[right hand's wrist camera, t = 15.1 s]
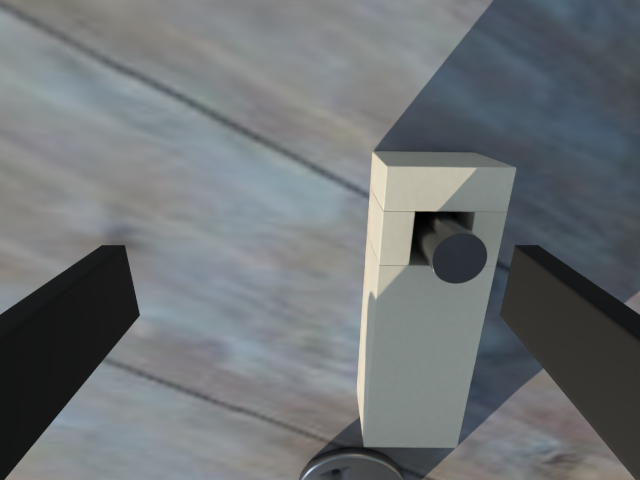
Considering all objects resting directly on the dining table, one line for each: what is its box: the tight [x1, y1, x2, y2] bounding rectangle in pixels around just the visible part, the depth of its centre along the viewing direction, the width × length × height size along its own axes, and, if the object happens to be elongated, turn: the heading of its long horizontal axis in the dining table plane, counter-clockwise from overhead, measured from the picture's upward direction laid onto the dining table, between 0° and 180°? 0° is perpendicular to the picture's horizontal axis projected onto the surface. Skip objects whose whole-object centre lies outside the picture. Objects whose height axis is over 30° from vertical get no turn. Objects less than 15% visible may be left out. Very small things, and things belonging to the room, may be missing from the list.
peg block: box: [357, 151, 517, 448], centre depth 37 cm, size 30×10×8 cm, turn 179°
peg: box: [412, 211, 487, 284], centre depth 32 cm, size 4×4×12 cm
